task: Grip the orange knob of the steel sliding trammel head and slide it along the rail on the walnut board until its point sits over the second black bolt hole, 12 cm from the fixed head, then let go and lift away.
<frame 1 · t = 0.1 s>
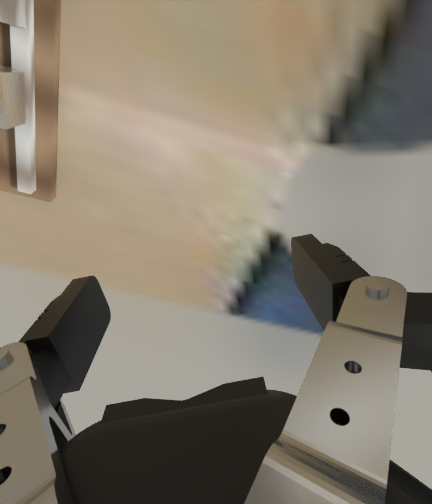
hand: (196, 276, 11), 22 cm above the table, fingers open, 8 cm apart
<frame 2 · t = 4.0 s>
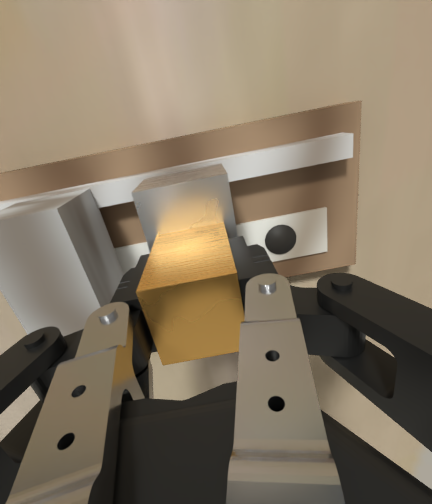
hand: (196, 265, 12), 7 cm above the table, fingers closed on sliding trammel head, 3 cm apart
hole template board: (182, 219, 19), on the table
sliding trammel head: (196, 255, 13), point 6 cm above the table, slide at 7.0 cm, touching gripper
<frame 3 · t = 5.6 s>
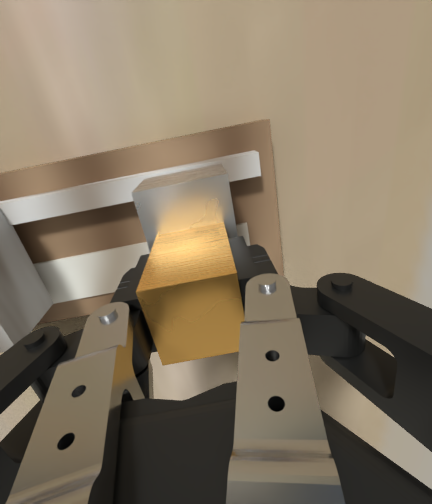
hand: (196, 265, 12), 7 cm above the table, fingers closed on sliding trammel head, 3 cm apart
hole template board: (109, 233, 19), on the table
sliding trammel head: (196, 255, 13), point 6 cm above the table, slide at 12.0 cm, touching gripper
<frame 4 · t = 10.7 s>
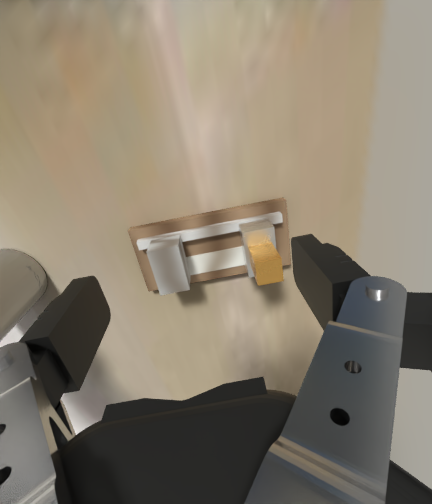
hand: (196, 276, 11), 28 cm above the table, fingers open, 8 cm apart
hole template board: (212, 244, 41), on the table
sliding trammel head: (261, 253, 35), point 6 cm above the table, slide at 12.0 cm
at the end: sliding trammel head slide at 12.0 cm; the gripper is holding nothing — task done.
